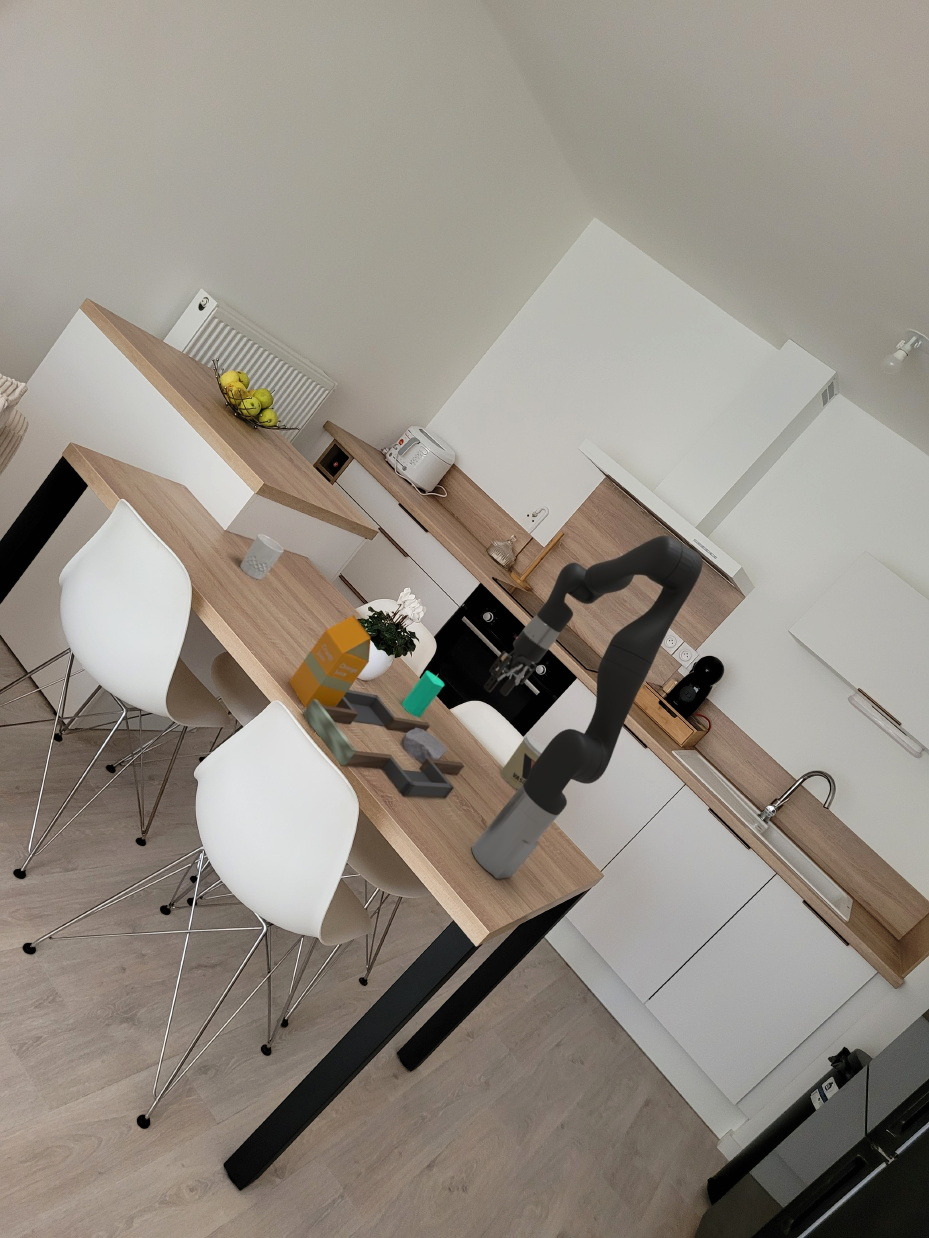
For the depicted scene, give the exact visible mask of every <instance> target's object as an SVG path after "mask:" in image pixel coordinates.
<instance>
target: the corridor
mask: <svg viewBox="0 0 929 1238" xmlns="http://www.w3.org/2000/svg"><path fill="white" fill-rule="evenodd" d="M302 715H303V717H304V718H305V719H306V721H307V722H308V723H309V725H310V726H311V727H312V729H313V730H314V731H315V733H316V734H317V736H318V738H320V740H321V741H322V743H323V744H324V745H325V746H326V748H327V749H328V750H329V751H330V753H331V754H332V755H333V757H334V758H335V760H336V761H337V762H338V764H339V765H340V766H343V767H344V766H347V767H357V768H368V769H379V770H380V769H381V770H382V768H383V767H384V766H385V764H386V763H387V762H388V760H389V759H390V758H394V756H392V754H390V753H379V752H370V751H369V752H368V751H362V750H361V751H360V750H357V749H356V748H355V747H354V745H353V744H352V743H351V742H350V740H349V739H348V737H347V736H346V734H345V733H344V732H343V731H342V730H341V728H339V726H338V724H337V723H340V724H344V725H345V724H346V725H351V724H352V723H353V720H354V719H355V718H356V716H357V715H358V713H357V712H356V711H355V710H350V709H344V708H338V707H332V706H326V705H321V704H320V703H319V701H318V700H316V699H313V700H312V702H311V703H310V704H309V706H308V707H306V709H305V710H304V712H303V713H302ZM384 727H385V729H386V730H387V731H393V732H400V733H405V734H406V733H408V732H409V731H410V730H413V729H415V728H420V729H423V730H424V731H426V732H428V729H429V728H430V727H431V725H430V724H429V723H428V721H427V722H425V721H420V720H414V719H408V718H401V717H398V716H397V717H396V716H395V717H391V719H390V720H389V721H388V723H387V724H386V725H385V726H384ZM430 762H433V763H434V764H435V765H436V767H437V768H438V769H439V770H440V771H441V773H442V774H443V775H451V776H458V774H459V773H460V772H461V771H462V770H463V768H464V767H465V764H464V763H463V762H461V761H454V760H446V759H445V760H444V759H439V760H436V759H426V760H425V762H424V763H423V764H421V766H420V767H419V771H422V772H423V770H424V769H425V768H426V767H427V765H428V764H429V763H430Z"/></svg>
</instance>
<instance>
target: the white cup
mask: <svg viewBox="0 0 929 1238" xmlns="http://www.w3.org/2000/svg"><path fill="white" fill-rule="evenodd" d="M283 553H284V548H283V547H282V546H281V545H280V543H278V542H277V541H276V540H274V539H273V538H271V537H269V536H267V535H265V534H260V533H258V534H257V535H256V538H255V539H254V541H253V542H252V544H251V545H250V548H248V550H247V553H246V554H245V557H244V559H243V560H242V562H241V563H240V565H239V566H240V569H241V571H243V573H245V574H246V575H248V576H249V577H251V578H252V579H254V580H255V579H256V580H260V581H261V580H262V579H263V578H265V576H266V575H267V573H268V572H269V571H270V570H271V568H272V567H273V566H274V565H275V563H276V562H277V561H278V559H279V558H280V557H281V555H282V554H283Z"/></svg>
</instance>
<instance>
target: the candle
mask: <svg viewBox="0 0 929 1238" xmlns="http://www.w3.org/2000/svg"><path fill="white" fill-rule="evenodd" d="M438 675H439V674H437V675H435V674H433V672H430V671H429V670H426V671H425V672H424V674H423V675H422V676H421V678H420V679H419V680H418V681H417V682H416V684H415V685H414V687H413V688H412V689H411V690H410V692H409V693H408V694H407V695H406V697H405V699H404V700H403V702H401V705H402V708H404V710H406V712H408V713H409V714H410V715H412V716H413V717H415V718H421V717H422V716H423V714H424V712H426V710H427V709H428V707H429V706H430V705H431V703H432V702H433V701H434V699H435V698H436V697H437V695H438V694H439V693H440V692H441V690H442V689H443V687H445V683H444V681H443V680H441V679H440V678H439V677H438Z"/></svg>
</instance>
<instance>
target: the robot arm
mask: <svg viewBox="0 0 929 1238" xmlns="http://www.w3.org/2000/svg"><path fill="white" fill-rule="evenodd" d="M703 565H704V564H703V558H702V556H701V555H700V553H698V552H697V551H696V550H694V549H692V548H690V546H687V545H686V544H684V543H683V542H681V541H679V540H677V539H676V538H674V537H672V536H670V535H659V536H657V537H653V538H651V539H649V540H648V541H646V542H643V543H642V544H640V545H638V546H636V547H634V548H633V549H631V550H629V551H627V552H625V553H624V554H623V555H621V556H618V557H615V558H613V559H609V560H605V561H601V562H597V563H595V564H591V566H589V567H588V568H587V569H586V568H585V567H584V566H582V565H581V564H580V563H577V562H569V563H568V564H566V565H565V566H564V567H562V568H561V570H560V572H559V574H558V576H557V578H556V580H555V583H554V586H553V587H552V588H553V589H552V590H551V592H550V595H549V597H547V600H546V602H544V604H543V606H542V607H541V608H540V610H539V611H538V612H537V613H536V614H535V616H533V618H532V619H531V620H529V622H528V623H527V625H526V626H525V627H524V628H523V629H522V631H521V632H520V633H519V634H518V636H517V637H516V638H515V640H514V641H513V643H512V646H513V650H512V651H511V652H510V653H507V652H506V651H505V650H503V651H501V653H500V654H499V655H498V657H497V658H496V660H495V661H494V662H493V663H492V665H491V667H490V668H489V672H490V673H491V675H490V677H488V680H487V681H486V682H485V683H484V685H483V688H484V690H485V691H486V692H488V693H491V692H492V691H493V690H494V689H495V687H496V686H497V685H498V684H499V682H500V681H501V680H503V678H505V677H508V678H509V679H507V680H506V681H505V683H504V684H503V685H502V686H501V688H500V689H499V693H500V694H501V695H502V696H504V697H507V696H508V695H509V694H510V692H511V691H512V690H513V689H514V688H515V686H518V685H519V684H520V685H524V683H525V682H526V681H527V680H528V679H529V677H530V676H531V675H532V674H533V672H534V671H535V670H536V669H537V667H538V665H536V664H537V663H539V662H540V661H541V660H542V658H543V657H544V656H545V655H546V653H547V652H548V650H549V649H550V648H551V647H552V645H553V644H554V643H555V642H556V641H557V639H558V637H559V635H560V634H561V632H562V631H563V630H564V629H565V627H566V626H567V625H568V624H569V622H570V621H571V619H572V618H573V617H574V612H573V609H572V608H571V607H570V606H569V605H568V604H567V603H566V602H565V600H566V596H567V595H570V596H571V597H572V598H573V599H575V600H576V601H578V602H579V603H581V604H585V605H590V604H593V603H595V602H596V601H597V600H598V599H600V598H601V597H603V596H604V595H606V594H611V593H616V592H620V591H622V590H624V589H627V587H628V586H629V585H630V584H631V583H632V581H633V579H634V577H635V576H645V577H647V578H648V579H649V580H651V581H652V582H654V583H655V584H658V585H659V586H661V587H662V588H661V591H660V593H659V595H658V596H657V598H656V599H655V601H654V602H653V604H652V606H651V607H650V608H649V609H648V610H647V611H646V612H645V613H644V614H642V615H641V616H639V617H638V618H636V619H634V620H633V621H632V622H629V624H627V625H625V626H624V627H622V628H621V629H619V631H617V632H616V633H615V634H614V635H613V636H612V638H611V639H610V642H609V644H608V645H607V647H606V650H605V652H604V653H603V656H602V659H601V661H600V663H599V666H598V668H597V674H596V675H597V678H596V700H595V702H596V703H595V707H594V712H593V715H592V717H591V720H590V722H589V724H588V726H587V727H586V730H585V732H582V731H580V730H577V729H573V728H567V729H564V730H562V731H559V732H558V733H557V734H556V735H555V736H554V737H553V738H552V739H551V741H550V742H549V743H548V744H547V745H546V746H547V747H546V748H545V749H544V751H543V752H542V754H541V755H540V756H539V758H538V759H537V760H536V762H535V763H534V764H533V766H532V768H531V770H530V772H529V775H528V778H527V780H526V781H525V782H524V784H523V785H522V786H521V787H520V788H519V790H516V793H514V795H513V796H512V797H511V798H510V799H509V800H508V802H507V803H506V804H505V805H504V806H503V808H502V809H501V810H500V811H499V812H498V814H497V815H496V816H495V818H494V819H493V820H492V822H490V823H489V825H488V826H487V827H486V829H485V830H484V831H483V833H482V834H481V835H480V836H479V837H478V838H477V840H476V841H475V842H474V844H472V846H471V852H472V854H473V856H474V858H475V860H476V861H477V862H478V863H479V865H480V866H481V867H482V868H484V869H485V871H487V872H488V873H490V874H491V875H492V876H493V877H494V878H495V879H497V880H499V879H500V880H501V879H507V878H509V879H510V878H512V877H513V876H514V875H515V874H516V873H517V871H518V870H519V869H520V868H521V866H522V865H523V864H524V863H525V862H526V860H527V859H528V858H529V857H530V855H531V854H532V853H533V852H534V850H535V849H537V847H538V846H539V844H540V842H539V841H538V840H539V839H540V838H541V837H542V835H544V833H546V831H547V830H548V828H549V827H550V826H551V825H552V824H553V823H554V821H555V820H556V819H557V818H558V816H560V815H561V813H562V812H563V811H564V809H565V808H566V806H567V804H568V803H567V802H568V800H567V798H566V795H565V794H564V793H563V791H564V789H565V788H566V787H567V785H568V784H569V782H570V781H571V780H573V781H576V782H578V783H581V784H585V785H586V784H592V783H594V782H595V783H596V781H598V780H599V779H600V778H601V777H602V776H603V775H604V774H605V771H606V770H607V768H608V765H609V764H610V761H611V758H612V756H613V753H614V751H615V748H616V745H617V743H618V739H619V736H620V734H621V731H622V729H623V726H624V724H625V721H626V719H627V717H628V714H629V712H630V710H631V708H632V706H633V705H634V702H635V699H636V698H637V695H638V693H639V691H640V689H641V687H642V685H643V683H644V682H645V680H646V678H647V676H648V674H649V672H650V670H651V667H652V665H653V663H654V662H655V661H654V660H655V659H656V657H657V654H658V652H659V650H660V647H661V646H662V644H663V642H664V639H665V638H666V637H667V634H668V631H669V629H670V628H671V626H672V624H673V622H674V620H675V619H676V617H677V615H678V614H679V612H680V610H681V609H682V608H683V605H684V604H685V602H686V601H687V599H688V597H689V595H690V594H691V592H692V591H693V589H694V587H695V586H696V584H697V582H698V579H699V578H700V575H701V574H702V569H703Z"/></svg>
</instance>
